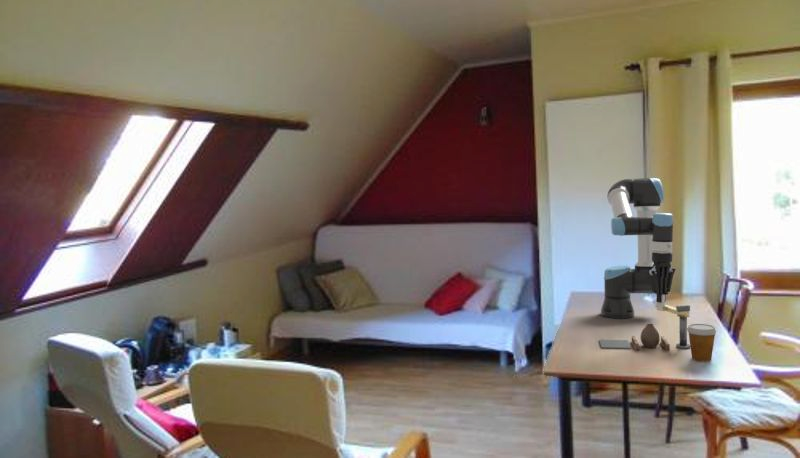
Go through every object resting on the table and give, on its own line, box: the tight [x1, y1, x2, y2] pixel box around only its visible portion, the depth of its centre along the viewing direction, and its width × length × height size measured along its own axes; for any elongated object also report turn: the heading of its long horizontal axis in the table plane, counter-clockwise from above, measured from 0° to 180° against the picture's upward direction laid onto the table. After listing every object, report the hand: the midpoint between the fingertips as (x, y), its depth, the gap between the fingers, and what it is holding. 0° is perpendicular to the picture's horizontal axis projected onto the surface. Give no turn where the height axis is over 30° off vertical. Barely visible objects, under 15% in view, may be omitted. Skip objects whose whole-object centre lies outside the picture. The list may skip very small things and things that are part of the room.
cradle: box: [631, 335, 671, 352], centre depth 239 cm, size 12×12×2 cm
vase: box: [640, 323, 661, 349], centre depth 238 cm, size 7×7×9 cm
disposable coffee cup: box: [687, 323, 717, 362], centre depth 220 cm, size 10×10×12 cm
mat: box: [598, 339, 632, 350], centre depth 243 cm, size 11×11×1 cm
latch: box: [654, 302, 691, 318], centre depth 241 cm, size 5×18×4 cm, turn 11°
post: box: [675, 317, 691, 350], centre depth 235 cm, size 5×5×12 cm
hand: (660, 310), depth 245 cm, fingers closed
